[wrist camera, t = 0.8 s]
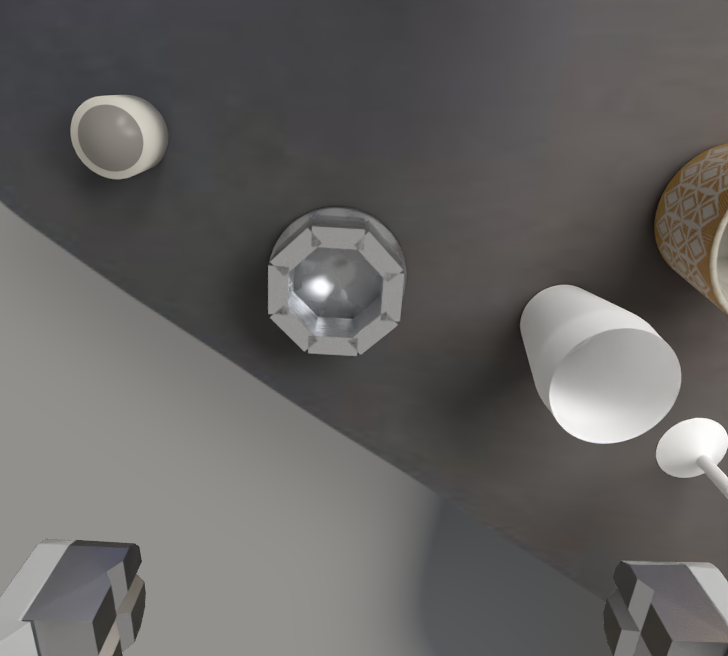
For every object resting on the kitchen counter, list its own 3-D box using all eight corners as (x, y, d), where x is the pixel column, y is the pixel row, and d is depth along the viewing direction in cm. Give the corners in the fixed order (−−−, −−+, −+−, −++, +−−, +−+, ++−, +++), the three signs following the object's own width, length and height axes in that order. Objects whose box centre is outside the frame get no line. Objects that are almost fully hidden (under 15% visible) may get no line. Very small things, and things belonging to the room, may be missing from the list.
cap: (90, 92, 43) (64, 93, 39) (166, 97, 43) (147, 98, 39) (99, 168, 45) (74, 177, 41) (171, 173, 45) (153, 182, 41)
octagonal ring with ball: (270, 201, 46) (259, 214, 41) (411, 210, 46) (417, 224, 41) (269, 332, 50) (260, 357, 45) (399, 339, 50) (403, 365, 46)
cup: (487, 348, 51) (522, 421, 40) (536, 254, 48) (589, 305, 36) (578, 381, 52) (637, 461, 41) (632, 292, 49) (711, 353, 38)
